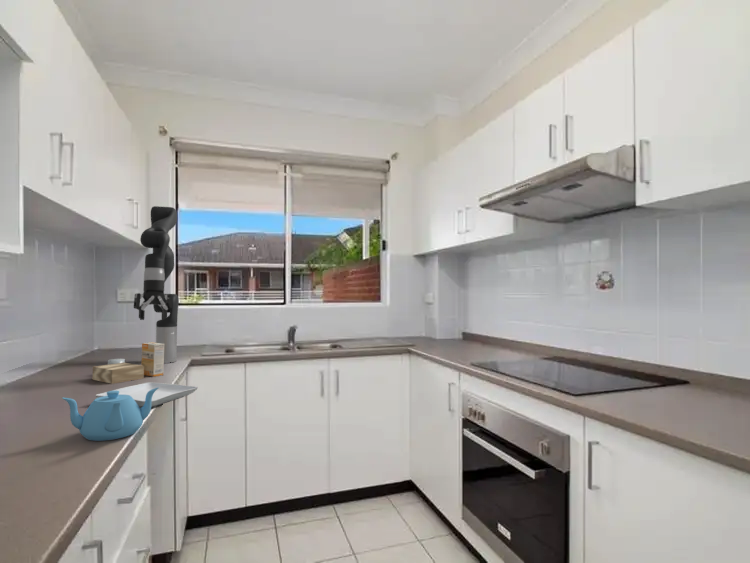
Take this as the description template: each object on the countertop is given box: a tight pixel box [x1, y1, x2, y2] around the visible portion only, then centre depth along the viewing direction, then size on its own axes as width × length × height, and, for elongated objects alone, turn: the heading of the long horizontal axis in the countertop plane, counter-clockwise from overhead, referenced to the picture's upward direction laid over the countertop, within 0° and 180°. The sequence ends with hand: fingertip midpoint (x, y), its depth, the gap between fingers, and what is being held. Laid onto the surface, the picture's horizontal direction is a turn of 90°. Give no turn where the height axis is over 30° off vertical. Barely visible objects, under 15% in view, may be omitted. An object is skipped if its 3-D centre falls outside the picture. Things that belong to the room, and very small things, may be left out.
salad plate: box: [95, 382, 198, 408], centre depth 136 cm, size 21×21×3 cm
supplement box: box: [140, 341, 165, 378], centre depth 176 cm, size 8×5×13 cm, turn 62°
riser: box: [91, 362, 145, 385], centre depth 167 cm, size 14×12×5 cm
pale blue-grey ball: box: [107, 358, 126, 365], centre depth 177 cm, size 6×6×6 cm
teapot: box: [61, 387, 159, 442], centre depth 103 cm, size 15×15×10 cm
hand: (153, 319), depth 173 cm, fingers open, 8 cm apart
